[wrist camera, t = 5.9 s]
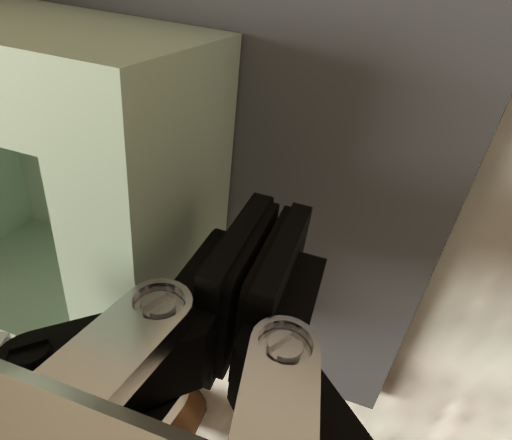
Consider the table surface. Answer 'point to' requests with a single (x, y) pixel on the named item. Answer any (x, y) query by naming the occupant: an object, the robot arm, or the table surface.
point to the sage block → (106, 154)
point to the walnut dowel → (191, 413)
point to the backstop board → (360, 144)
